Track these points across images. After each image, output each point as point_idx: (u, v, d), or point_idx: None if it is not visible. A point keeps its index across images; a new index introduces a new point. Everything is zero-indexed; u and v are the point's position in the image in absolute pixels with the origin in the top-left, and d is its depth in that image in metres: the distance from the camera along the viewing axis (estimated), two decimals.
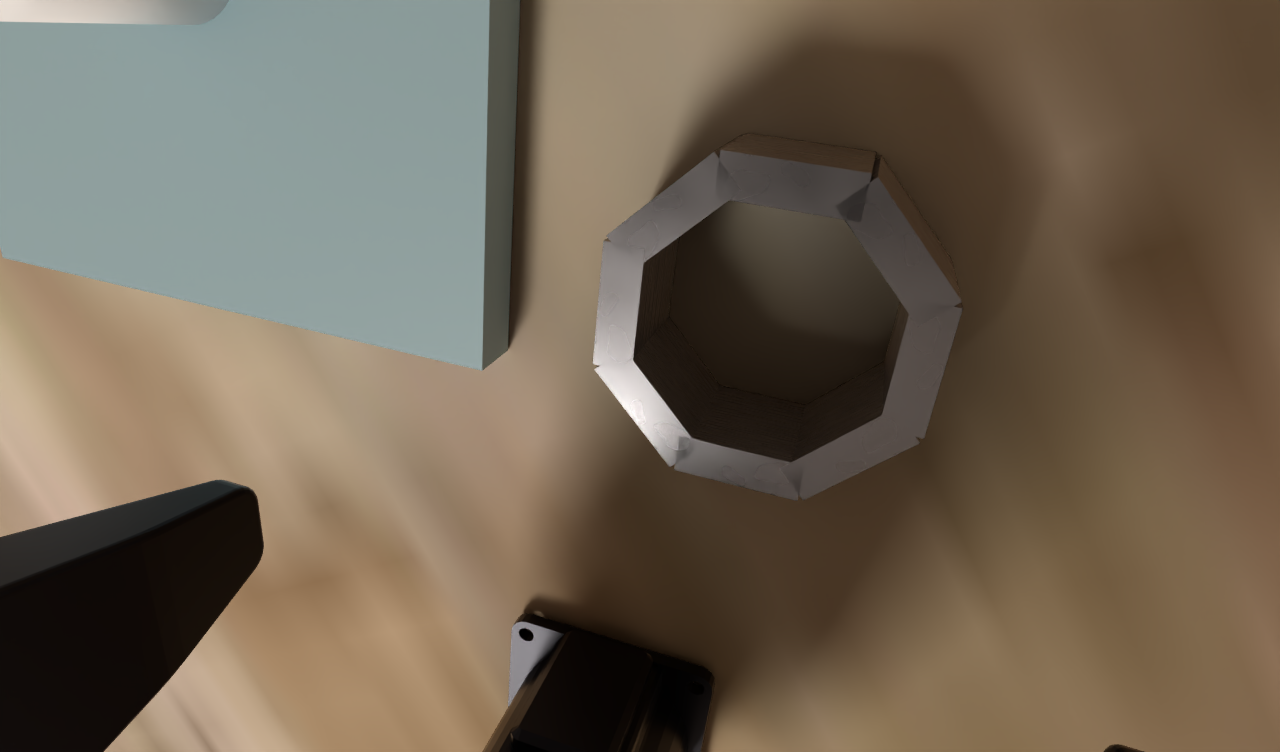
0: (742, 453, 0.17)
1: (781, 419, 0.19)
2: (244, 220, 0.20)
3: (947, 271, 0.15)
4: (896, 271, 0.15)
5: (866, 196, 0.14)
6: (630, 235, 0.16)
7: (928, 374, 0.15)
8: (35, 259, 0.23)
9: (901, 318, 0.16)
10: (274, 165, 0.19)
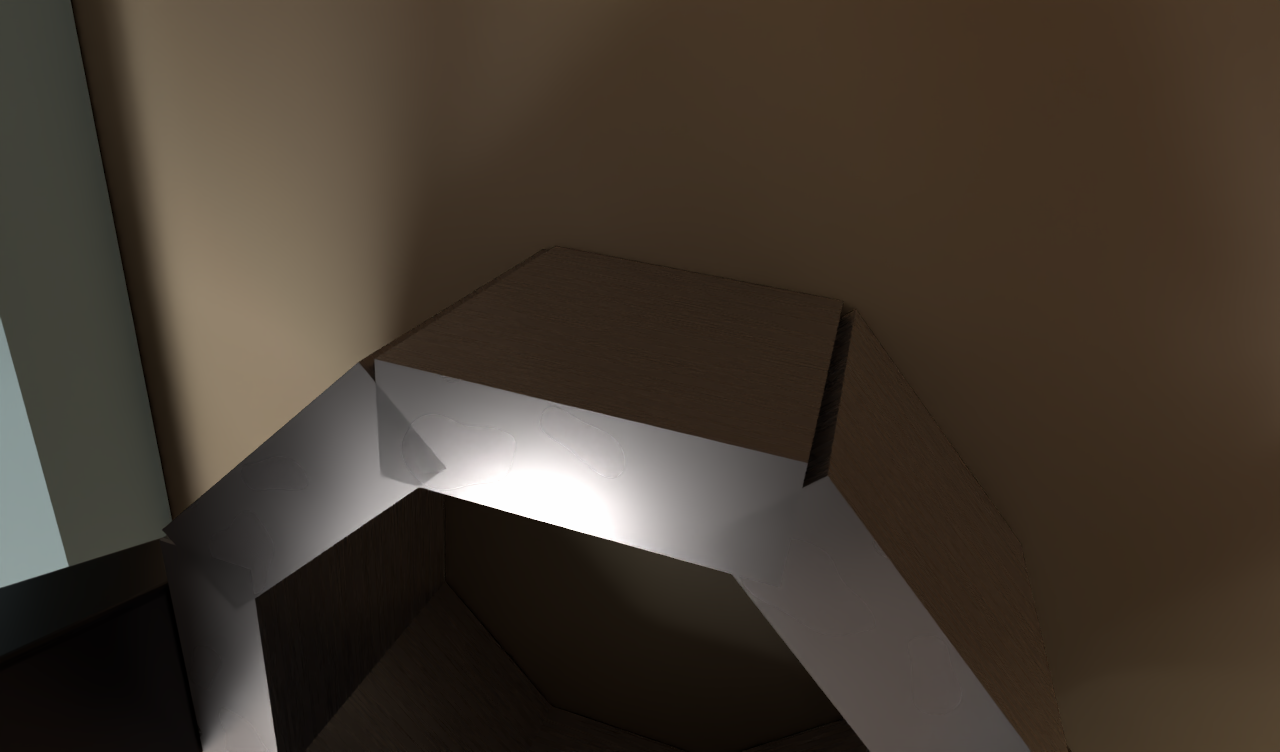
0: None
1: None
2: None
3: (1029, 669, 0.06)
4: (888, 721, 0.05)
5: (793, 524, 0.05)
6: (212, 536, 0.06)
7: None
8: None
9: None
10: None
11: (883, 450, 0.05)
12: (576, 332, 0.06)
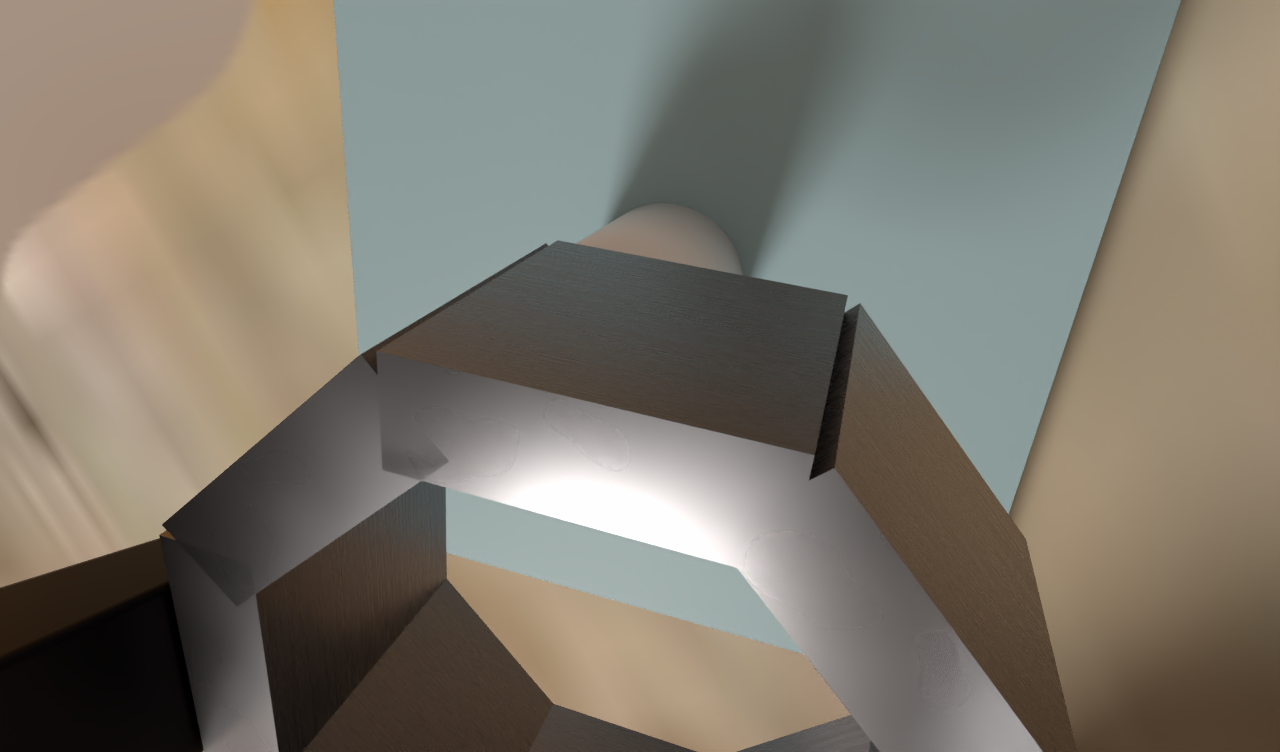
0: None
1: None
2: None
3: (1036, 665, 0.06)
4: (894, 716, 0.05)
5: (800, 517, 0.05)
6: (212, 531, 0.06)
7: None
8: None
9: None
10: None
11: (889, 444, 0.05)
12: (579, 325, 0.06)
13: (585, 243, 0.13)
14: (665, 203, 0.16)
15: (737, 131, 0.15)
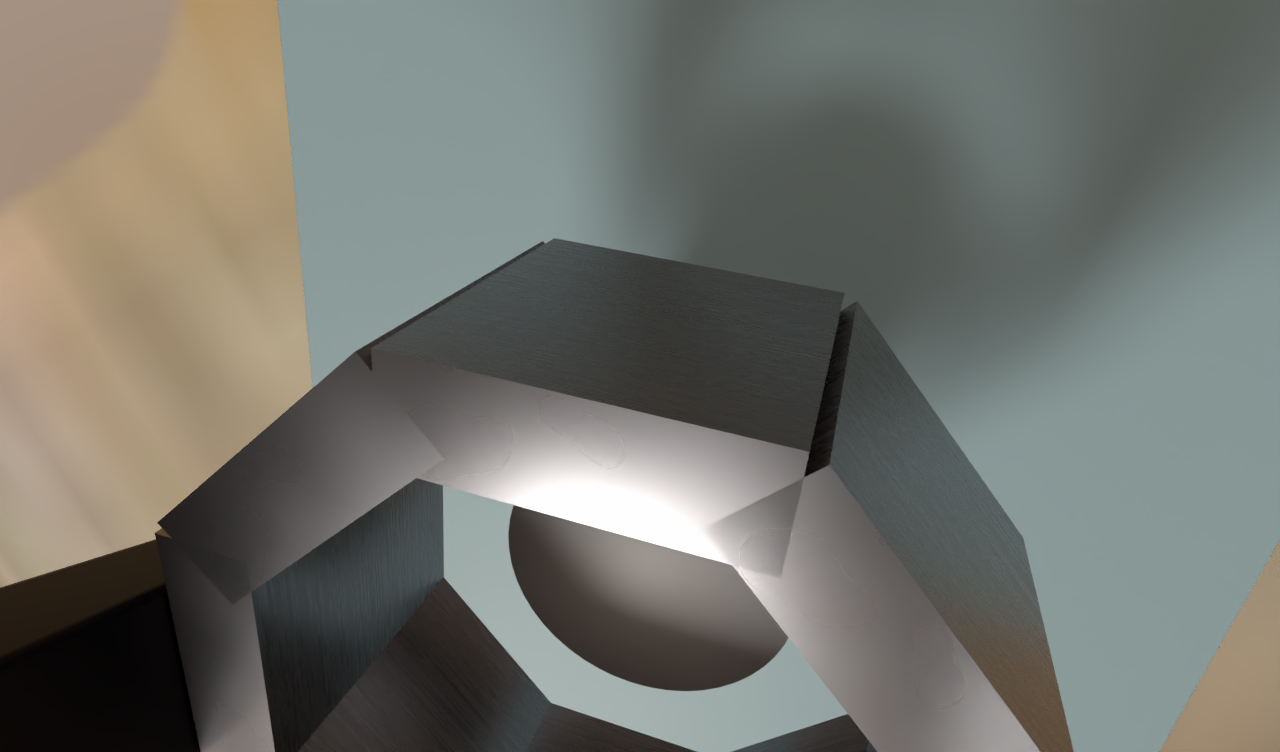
0: None
1: None
2: (731, 700, 0.15)
3: (1033, 663, 0.06)
4: (890, 714, 0.05)
5: (795, 514, 0.05)
6: (208, 529, 0.06)
7: None
8: None
9: None
10: (804, 658, 0.14)
11: (885, 441, 0.05)
12: (575, 322, 0.06)
13: None
14: None
15: (838, 216, 0.11)
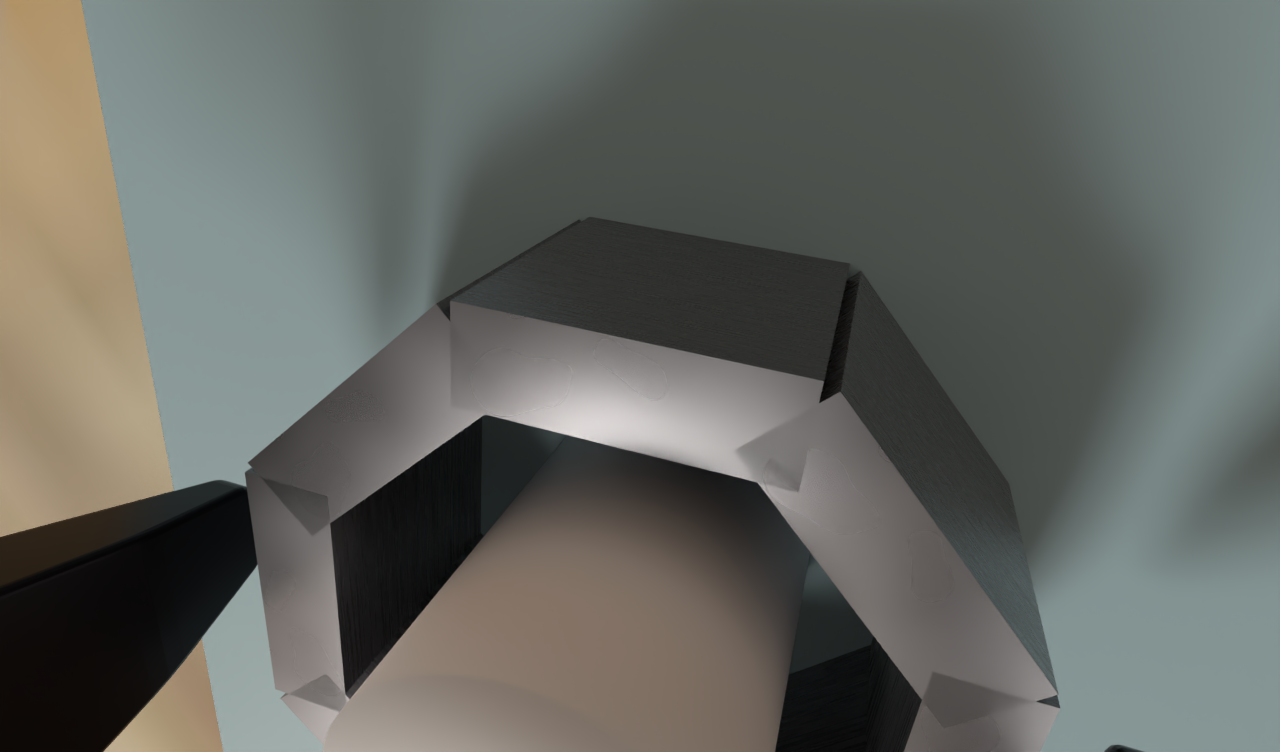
0: None
1: None
2: None
3: (1013, 575, 0.06)
4: (891, 609, 0.06)
5: (811, 435, 0.05)
6: (294, 467, 0.07)
7: None
8: None
9: None
10: None
11: (886, 384, 0.06)
12: (618, 283, 0.07)
13: (505, 591, 0.06)
14: None
15: None
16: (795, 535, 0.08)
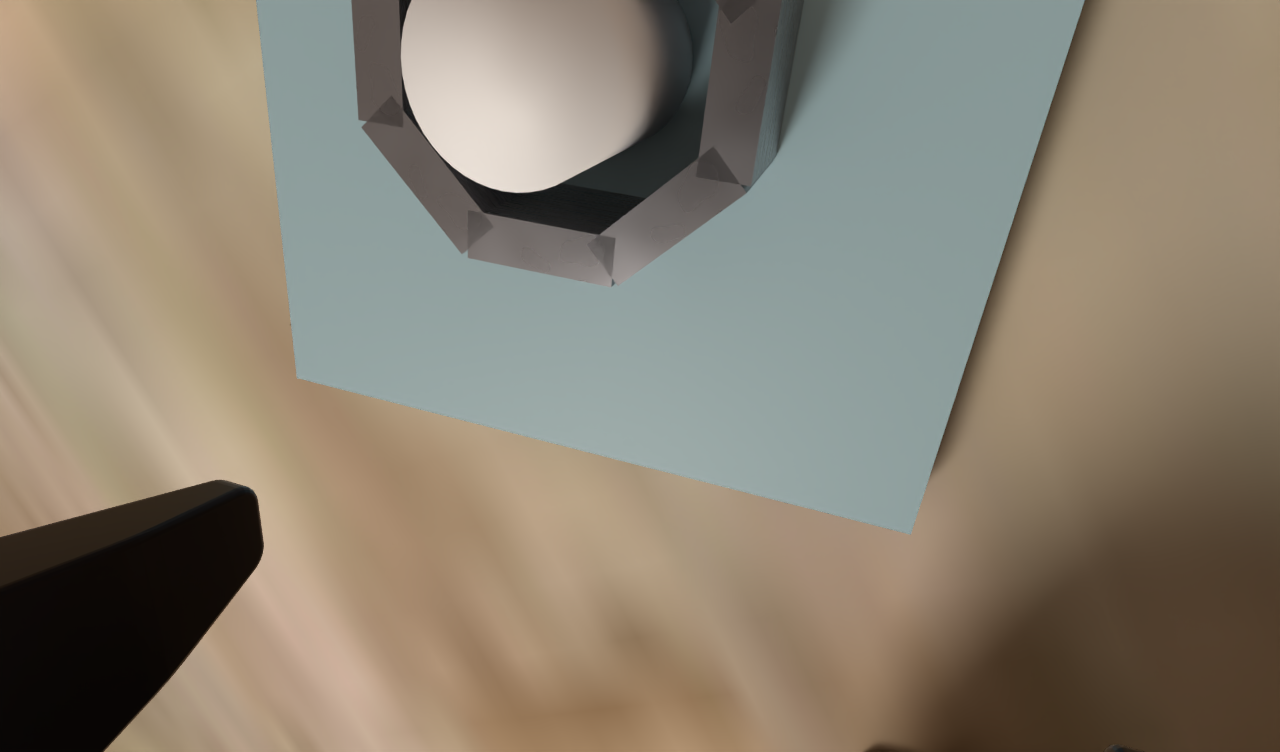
0: (542, 227, 0.14)
1: (609, 206, 0.15)
2: (628, 359, 0.18)
3: None
4: None
5: None
6: None
7: (749, 92, 0.12)
8: (339, 382, 0.20)
9: None
10: (685, 305, 0.17)
11: None
12: None
13: None
14: None
15: None
16: (675, 19, 0.14)
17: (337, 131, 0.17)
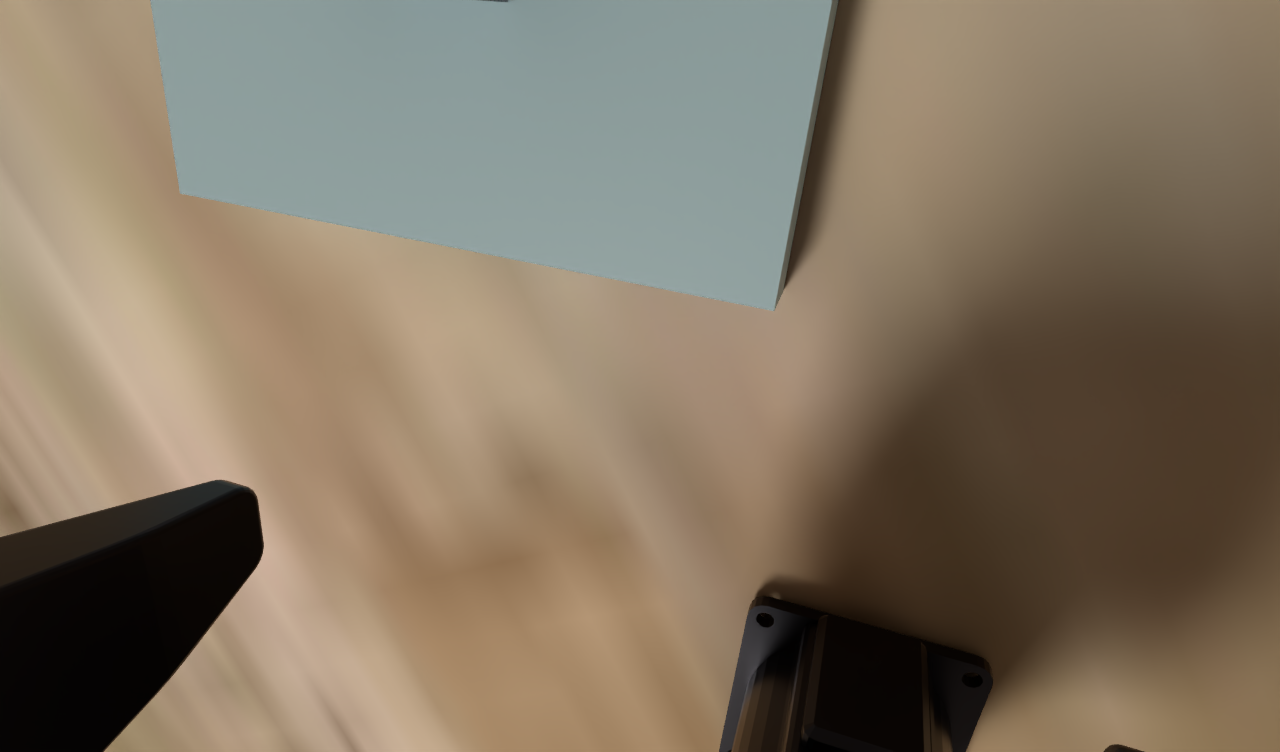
0: None
1: None
2: (491, 138, 0.18)
3: None
4: None
5: None
6: None
7: None
8: (220, 194, 0.20)
9: None
10: (540, 70, 0.17)
11: None
12: None
13: None
14: None
15: None
16: None
17: None
